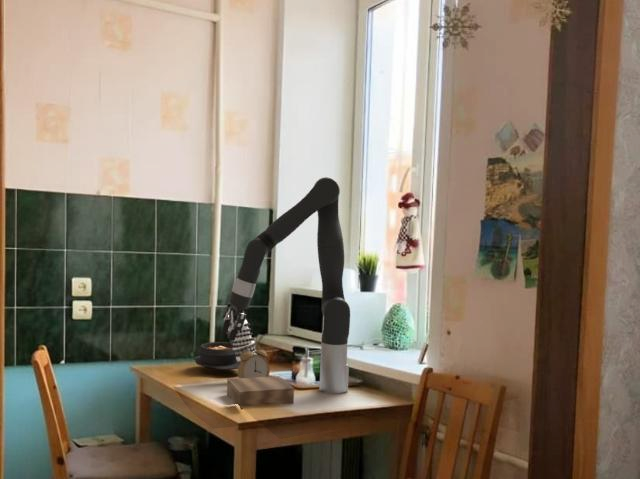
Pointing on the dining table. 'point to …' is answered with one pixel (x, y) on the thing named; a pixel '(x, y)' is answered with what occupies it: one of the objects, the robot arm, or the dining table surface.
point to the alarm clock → (253, 364)
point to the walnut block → (260, 391)
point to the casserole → (217, 356)
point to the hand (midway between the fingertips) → (227, 336)
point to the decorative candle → (242, 340)
